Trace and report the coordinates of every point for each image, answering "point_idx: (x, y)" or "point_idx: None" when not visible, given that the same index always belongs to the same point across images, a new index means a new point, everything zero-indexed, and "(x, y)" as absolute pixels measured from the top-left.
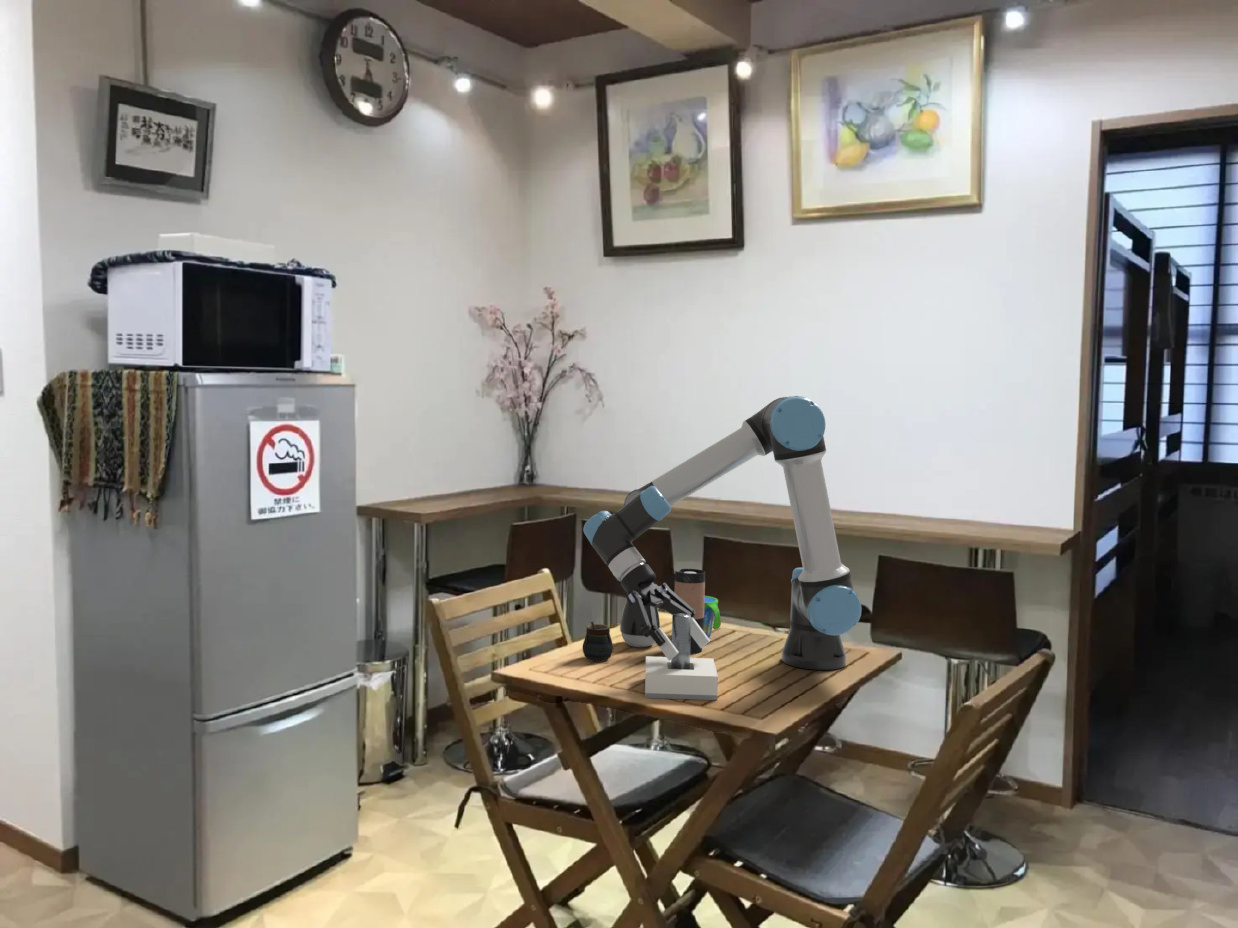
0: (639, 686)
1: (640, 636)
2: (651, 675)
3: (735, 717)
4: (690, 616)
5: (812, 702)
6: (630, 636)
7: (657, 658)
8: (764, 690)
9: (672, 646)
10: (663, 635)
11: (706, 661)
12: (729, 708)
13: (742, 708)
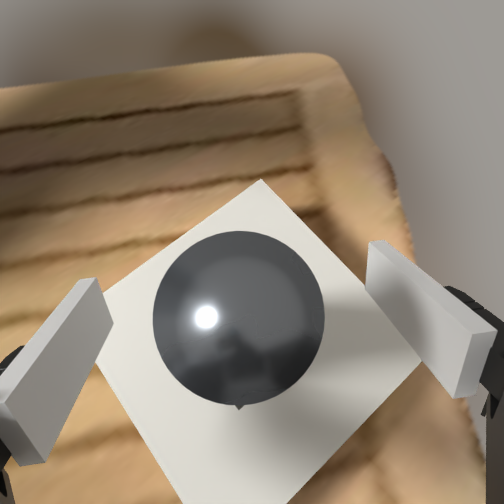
0: None
1: None
2: None
3: (328, 124)
4: (214, 235)
5: (126, 82)
6: None
7: (218, 491)
8: (105, 184)
9: (401, 256)
10: (452, 297)
11: (124, 309)
12: (288, 162)
13: (266, 145)
